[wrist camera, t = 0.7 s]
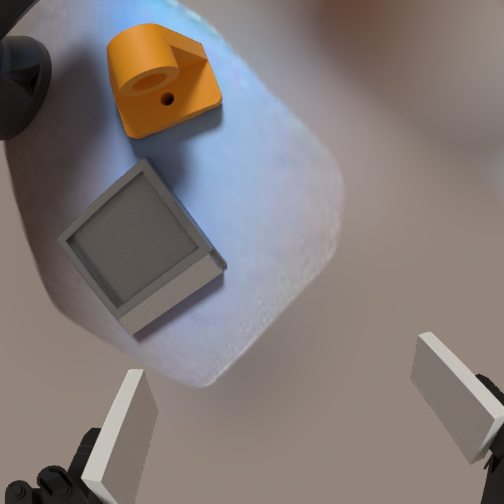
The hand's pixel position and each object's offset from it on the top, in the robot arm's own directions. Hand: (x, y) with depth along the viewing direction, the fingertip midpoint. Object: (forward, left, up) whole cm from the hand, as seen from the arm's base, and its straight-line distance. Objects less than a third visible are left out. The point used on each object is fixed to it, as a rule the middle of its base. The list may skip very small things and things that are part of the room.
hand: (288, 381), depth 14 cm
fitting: (-9, -11, -23) cm, 28 cm away
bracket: (-21, +2, -24) cm, 32 cm away
